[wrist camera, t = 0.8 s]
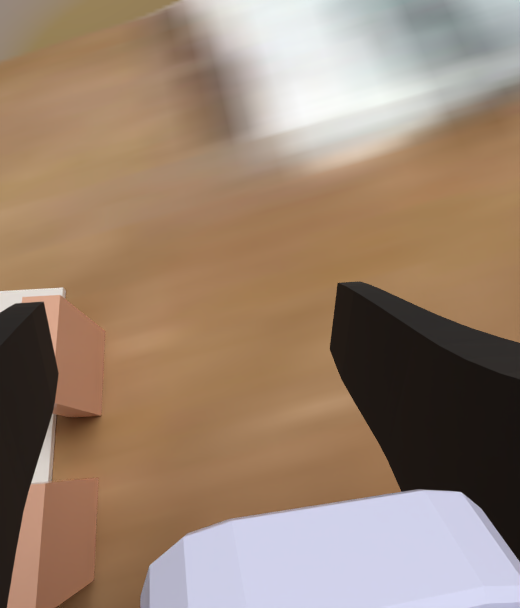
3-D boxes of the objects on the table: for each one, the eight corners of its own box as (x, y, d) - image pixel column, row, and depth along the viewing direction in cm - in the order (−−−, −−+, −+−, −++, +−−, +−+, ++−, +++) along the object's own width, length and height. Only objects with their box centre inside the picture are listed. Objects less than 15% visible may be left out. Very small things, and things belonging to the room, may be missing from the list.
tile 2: (93, 580, 22) (34, 622, 16) (56, 582, 22) (-17, 626, 16) (98, 477, 23) (45, 483, 18) (63, 479, 23) (-2, 486, 18)
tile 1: (101, 415, 24) (51, 402, 19) (67, 417, 24) (7, 405, 19) (105, 331, 26) (59, 294, 20) (73, 333, 26) (18, 297, 20)
